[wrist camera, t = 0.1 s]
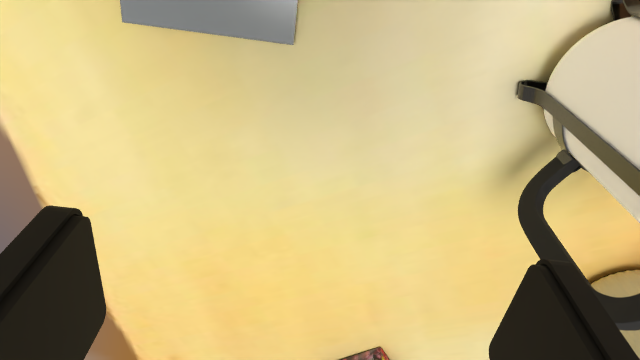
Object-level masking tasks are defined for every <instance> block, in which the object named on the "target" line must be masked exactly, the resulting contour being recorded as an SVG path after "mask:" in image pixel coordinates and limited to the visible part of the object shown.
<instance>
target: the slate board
mask: <svg viewBox="0 0 640 360" xmlns="http://www.w3.org/2000/svg"><path fill="white" fill-rule="evenodd" d="M120 4H121V14H122V22H125V23H132V24H140V25H147V26H155V27H162V28H170V29H177V30H185V31H192V32H200V33H207V34H215V35H222V36H230V37H237V38H245V39H252V40H260V41H267V42H275V43H282V44H290V45H293V44H294V37H295V27H296V17H297V6H298V0H120Z"/></svg>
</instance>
